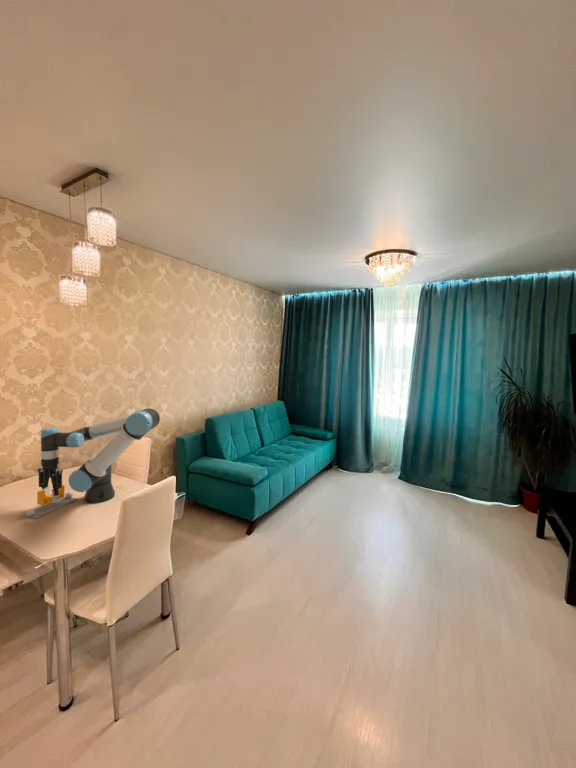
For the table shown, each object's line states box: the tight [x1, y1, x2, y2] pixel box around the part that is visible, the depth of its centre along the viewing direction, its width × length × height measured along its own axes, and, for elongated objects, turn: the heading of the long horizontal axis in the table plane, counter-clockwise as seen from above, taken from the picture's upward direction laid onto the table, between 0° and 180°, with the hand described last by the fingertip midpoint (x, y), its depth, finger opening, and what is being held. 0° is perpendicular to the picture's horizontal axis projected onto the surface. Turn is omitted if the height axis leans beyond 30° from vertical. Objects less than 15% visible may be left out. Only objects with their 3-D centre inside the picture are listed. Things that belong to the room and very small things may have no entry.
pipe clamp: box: [36, 484, 66, 506], centre depth 171 cm, size 12×4×6 cm, turn 158°
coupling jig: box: [19, 491, 79, 520], centre depth 170 cm, size 10×24×4 cm, turn 168°
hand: (50, 500), depth 170 cm, fingers closed on pipe clamp, 5 cm apart
